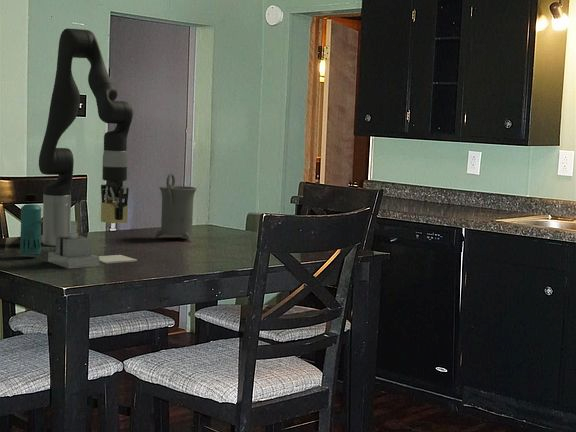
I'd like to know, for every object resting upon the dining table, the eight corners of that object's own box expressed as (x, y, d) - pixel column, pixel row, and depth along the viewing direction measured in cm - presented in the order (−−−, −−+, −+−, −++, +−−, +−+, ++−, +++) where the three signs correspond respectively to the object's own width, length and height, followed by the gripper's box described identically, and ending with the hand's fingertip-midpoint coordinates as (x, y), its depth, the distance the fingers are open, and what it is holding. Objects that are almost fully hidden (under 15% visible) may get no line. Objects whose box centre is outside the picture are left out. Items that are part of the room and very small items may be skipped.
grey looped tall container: (166, 235, 355) (168, 170, 352) (202, 238, 351) (205, 172, 348) (146, 241, 337) (148, 172, 334) (184, 244, 333) (186, 174, 330)
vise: (48, 261, 283) (48, 219, 281) (78, 259, 289) (78, 218, 287) (68, 268, 272) (69, 224, 270) (99, 266, 278) (100, 223, 277)
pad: (89, 258, 292) (89, 256, 292) (120, 256, 299) (120, 254, 299) (105, 263, 283) (105, 262, 283) (137, 261, 290) (137, 259, 290)
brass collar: (100, 221, 290) (101, 202, 289) (117, 220, 294) (118, 201, 293) (109, 223, 285) (110, 204, 285) (127, 222, 289) (127, 203, 289)
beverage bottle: (19, 259, 285) (20, 194, 283) (19, 255, 291) (20, 192, 289) (41, 259, 287) (42, 195, 285) (41, 255, 293) (41, 193, 291)
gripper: (137, 166, 285) (136, 220, 286) (114, 164, 296) (113, 216, 297) (115, 166, 280) (114, 221, 282) (93, 164, 291) (92, 217, 293)
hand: (114, 218), depth 289 cm, fingers closed on brass collar, 6 cm apart
